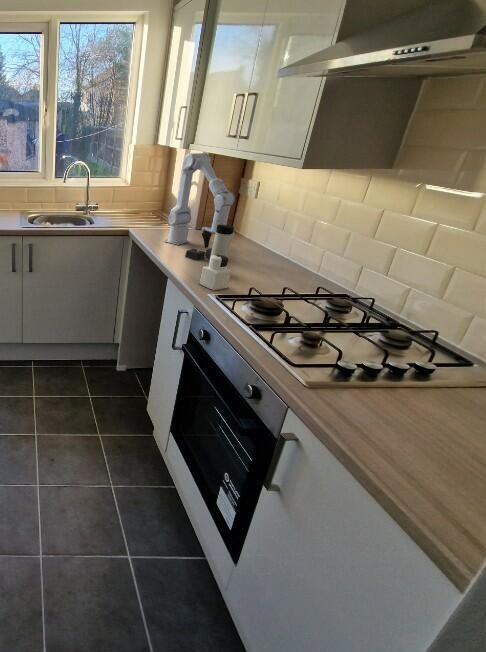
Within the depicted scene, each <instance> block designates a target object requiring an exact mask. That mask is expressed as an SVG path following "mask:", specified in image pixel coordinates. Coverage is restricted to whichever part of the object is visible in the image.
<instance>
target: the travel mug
mask: <svg viewBox="0 0 486 652" xmlns="http://www.w3.org/2000/svg"><path fill="white" fill-rule="evenodd" d="M234 230H235V227H234V226H230V225H227V224H226V225H221V224H218V225H217V230H216V234H214V238H213V243H212V252H211V256H212V255H223V256H226V257H227V258H228V256H229V252H230V248H231V243H232V239H233V238H232V235H233V233H234Z"/></svg>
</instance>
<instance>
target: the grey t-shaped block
mask: <svg viewBox="0 0 486 652" xmlns="http://www.w3.org/2000/svg"><path fill="white" fill-rule="evenodd" d="M211 252H212V248H211V247H210V248H206V250H205V255H204V257H206V259H210V257H211Z"/></svg>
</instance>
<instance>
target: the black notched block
mask: <svg viewBox="0 0 486 652" xmlns="http://www.w3.org/2000/svg"><path fill="white" fill-rule="evenodd" d="M205 254H206V251H203V250H199V251H198V249H196V248H191V249H187V250H186V251H185V258H188V259H192V260H195V261H199V260H203V259H204V258H205Z"/></svg>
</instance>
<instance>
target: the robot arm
mask: <svg viewBox="0 0 486 652" xmlns="http://www.w3.org/2000/svg"><path fill="white" fill-rule="evenodd" d="M211 160H212V159H211V157H210V155H209V153H207V152H198V153H197V152H196V153H195V152H193V153H192V152H189V153H187V155H185V156H184V157H183V161H182V166H181V169H180V170H181V171H180V178H179V184H178V191H177V198H176V205H175V206H174V207H172V208H171V209H170V213H169V215H168V217H167V218H168V223H169V225H170V227H169V229H170V230H169V234H168V239H166V240H164V242H166V243H169V244H173V245H176V246H180V245H182V244H186V243H189V240H188V238H189V237H188V236H189V231H190V229H189V228H190V227H189V226H188V224H190V222H191V220H192V210H191V208H190V207H189V201H190V194H191V189H192V184H193V183H192V182H193V176H194V173H196V172H197V171H198V170H199V171H201V173H202V174H203V176H204V177H205V178H206V180H207V181H208V183H209V184H208V189H209V190H210V192H211V194H212V195H213V197H214V198H213V204H214V214H213V219H212V224H211V226H210V227H209V226H202V227H201V230H200V231H201V236H202V239H203V247H204V249H209V245H210V241H211V237H212V235H213V234H214V235H215V234H216V230H217V225H218V224H221V225H227V224H228V219H229V214H230V211H231V206H233V204H234V203H235V201H236V196H235V194H234V193H233V192H231V191H230V190H228V188H227V187H226V185H225V183H224V180H223V179H222V178H218V177H217V175H216V172H215V170H214V168H213V166H212V164H211ZM235 235H236V233H235V232H233V235H232V239H233V238H235Z"/></svg>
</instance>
